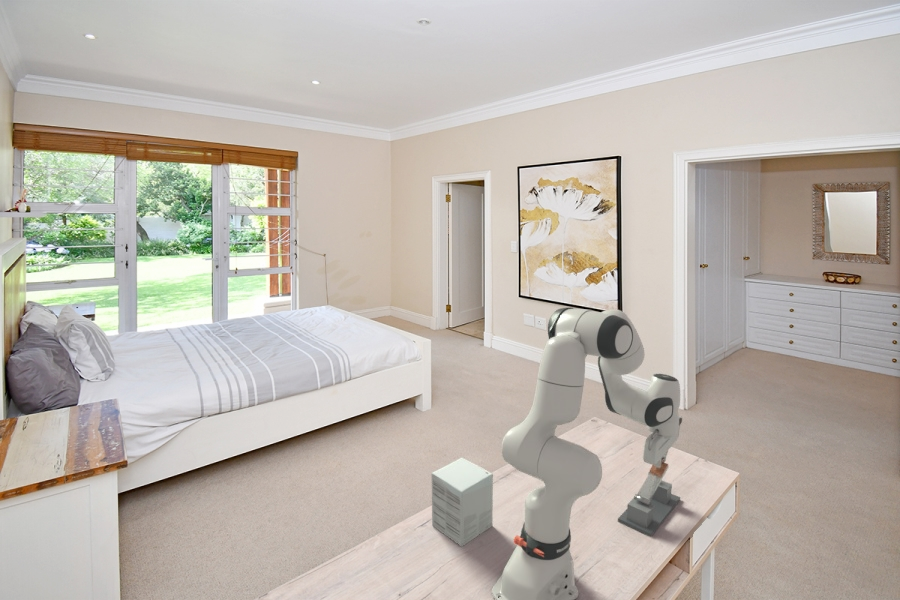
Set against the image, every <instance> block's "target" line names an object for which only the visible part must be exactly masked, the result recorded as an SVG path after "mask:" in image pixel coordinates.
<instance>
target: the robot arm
mask: <svg viewBox="0 0 900 600" xmlns="http://www.w3.org/2000/svg"><path fill="white" fill-rule="evenodd" d="M547 336H548V340H547V341H546V343H545V346H544V349H543V352H542V355H541V357H540V362H539V365H538V366H539V367H538V371H537V378H536V379H537V380H536V384H535V391H534V396H533V402H532V405H531V408H530V410H529V413H527V416H526V417H525V419H524V420H523V421H522V422H521V423H519V424H517V425H515V426H513V427H511V428H510V429H509V430H508V431H507V432H506V433H505V434H504V436H503V439H502V440H501V441H502V442H501V446H500V447H501V456H502V458H503V460H504V461H505V462H506V463H507V464H509V465H510V466H511V467H513V468H514V469H516V470H517V471H519V472H521V473H524V474H526V475H528V476H531V477H533V478H535V479H538V480H540V481H541V482H543V484H544V485H542V486H540V487H536V488H535V489H532V490H531V491H530V492H529V493H528V494H527V496H526V499H525V503H524V521H523V524H522V528H521V531H520V532H521V533H520V536H519V535H518V534H517V535H515V536H514V537H513V543H514V544H515V545H516V547H515V548H514V550H513V552H512V554H511V555H510V557H509V560H508V561H507V563H506V565H505V566H504V568H503V571H502V574H501V575H500V576H499V578H498V580H497V581H496V582H495V583H494V584H493V587H492V589H491V592H492V593H491V595H493V596H492V598H493V597H494V598H495V599H496V600H575V599H577V598H578V597H579V590H578V587H577V586H576V583H575V567H574V565H575V562H574V560H573V558H572V553H571V551H570V547H571V543H572V542H571V541H572V535H571V528H570V521H571V520H570V519H571V513H572V508H573V505H574V503H575V502H576V501H577V500H578V499H579V498H581V497H584V496H587V495H588V496H589V495H590V494H592V493H593V492H594V491H595V490H596V489H597V488H598V487H599V485H600V483H601V481H602V476H603V467H602V463H601V462H602V461H601V460H600V458H599V456H598V455H597V454H596V453H594V452H592V451H591V450H589V449H587V448H585V447H584V446H582V445H580V444H577V443H575V442H572V441H569V440H566V439H563V438H560V437H558V436H556V435H555V434H556V428H557V427H558V426H562V425H566V424H569V423H572V422H573V421H575V420H576V419H577V418H578V417H579V415H580V412H581V407H582V406H581V405H582V397H583V392H584V383H585V375H586V374H585V373H586V358H587V356H594V357H598V358H597V366H598V371H599V375H600V379H601V381H602V386H603V389H604V399H605V404H606V406H607V407H606V408H607V409H608V411H610V412H612V413H613V414H617V415H619V416H623V417H625V418H627V419H629V420H632V421H634V422H636V423H639V424H642V425H644V426H646V429H648V431H650V434H649V435H648V436H647V438H645V442H644V446H643V453H642V460H643V462H645V463H647V464H649V465H654V466H655V467H658V468H660V467H661V466H662V463H666V461H667V456H668V453H669V450H670V449H671V448H672V446H673V445H674V444H675V443H676V442H677V441H678V439H679V435H680V432H681V431H680V429H681V425H682V423H683V416H682V415H680V414H679V408H680V406H681V405H680V404H681V386H680V381H679V380H678V379H677V378H676V377H674V376H671V375H669V374H666V373H665V374H664V373H655V374H654V373H653V375H652V376H651V379H650V382H649V383H650V384H649V387H647V389H641V388H639V387H636V386H634V385H632V384H629V383H627V382H626V381H624V380H623V377H622V376H624V375H628V374H631V373H633V372H635V371H636V370H638V369H639V368H640V366H641V365H642V364H643V363H644V360H645V348H644V345H643V342H642V340H641V337H640V335H639V333H638V331H637V329H636V327H635V325H634V324H633V323H632V321H631V319H630V318H629V317H628V314H627V313H625V312H623V311H622V310H620V309H616V308H610V309H606V310H603V311H601V312H599V311H595V310H592V309H584V308H573V307H562V308H558V309H556V310H555V311H554V312H553V313H552V315H551V316H550V318H549V320H548V323H547ZM498 597H501V598H498ZM494 598H493V599H494ZM495 599H494V600H495Z"/></svg>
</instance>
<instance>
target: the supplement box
mask: <svg viewBox="0 0 900 600" xmlns="http://www.w3.org/2000/svg"><path fill="white" fill-rule="evenodd" d="M493 484H494V475H493V473H492V472H491V471H488V470H486V469H485V468H483V467H482V466H479V465H477V464H476V463H474V462H472V461H470V460H468V459H466V458H465V457H460V458H457V459H456V460H454V461H453V462H450V463H449V464H447V465H445V466H442V467H441V468H439V469H437V470H435V471H432V472H431V516H432V517H431V524H432V526H433V527H434V528H435V529H437V530H438V531H439V532H440V533H441V534H443V533H444V536H446V537H448V538H449V539H450V538H451V539H450V540H452V541H453V540H454V541H455V542H454V541H453V542H454V543H456V544H457V543H458V544H459V545H458V544H457V545H458V546H460V547H463V545H464V546H465V545H467V544H466V543H470V542H471V541H472V540H474V539H475V538H476V537H478V536H480V535H481V534H482V533H484V532H485V531H486V530H488V529H490V528H491V527H492V526H493V507H494V506H493V502H494V501H493V500H494V499H493V496H494V495H493V494H494V493H493V491H494V489H493V488H494V485H493ZM479 534H480V535H479Z"/></svg>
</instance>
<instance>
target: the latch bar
mask: <svg viewBox="0 0 900 600" xmlns="http://www.w3.org/2000/svg"><path fill="white" fill-rule="evenodd" d="M651 465H652V464H651ZM669 466H670V465H669V463H666V462H664V463H662V466H661V467H660V468H658V467H655V466H654V465H652V466H651V467H650V468H649V471H650V473H649V472H648V474H649V475H647V477H646V479H645V480H644V482H643V484H642V485H641V486H640V487H641V488H640V489H639V491H638V493H637V494H636V493H635V494H634V497H633V498H634V499H635V500H637V501H639V502H642V503H644V504H646V505H650V503H651V498H652V497H653V495H654V493H655V491H656V489H657V488H658V486H659V484H660V482H661V480H662V481H663V478H664V477H665V475H666V473H667V471H668V470H669V468H670V467H669Z"/></svg>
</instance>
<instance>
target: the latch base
mask: <svg viewBox="0 0 900 600" xmlns="http://www.w3.org/2000/svg"><path fill="white" fill-rule="evenodd" d="M649 473H650V470H649V471H648V473H647V474H648V475H649ZM648 475H647V476H648ZM672 488H673V484H672V483H670V482H667V481H665V480H663V479H662V480H661V482H660V484H659V486H658V488H657V489H656V491H655V493H654V495H653V497H652V498H651V503H650V505H646V504H644V503H642V502H639V501H637V500H635V499H634V497H633V498H632V499H631V500H629V502H628V503H627V508H626V509H625V510H624V512H623V513H621V515H620V516H619V517H618V518H617V522H619V523H620V524H622V525H624V526H627V527H629V528H631V529H633V530H635V531H637V532H640V533H641V534H644V535H646V536H648V537H652V536H654V534H655V533H656V532H657V530H658V529H659V528H660V526H661V525H662V524H663V523H664V521H666V519H667V517H669V515H670V514H671V513H672V511H673V510H674V509H675V507H676V506H677V505H678V504H679V502H680V501H681V497H680V496H677V495H676V494H673V493H672V490H673V489H672Z"/></svg>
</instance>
